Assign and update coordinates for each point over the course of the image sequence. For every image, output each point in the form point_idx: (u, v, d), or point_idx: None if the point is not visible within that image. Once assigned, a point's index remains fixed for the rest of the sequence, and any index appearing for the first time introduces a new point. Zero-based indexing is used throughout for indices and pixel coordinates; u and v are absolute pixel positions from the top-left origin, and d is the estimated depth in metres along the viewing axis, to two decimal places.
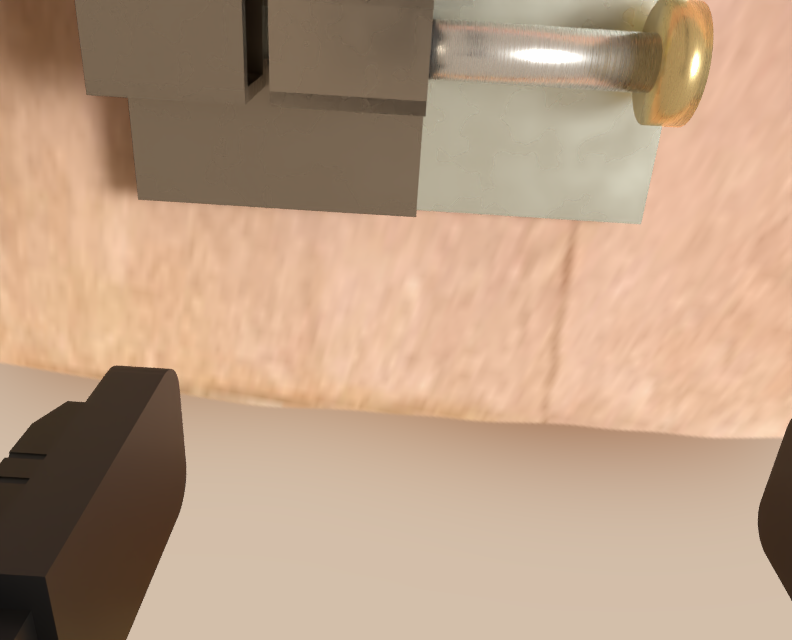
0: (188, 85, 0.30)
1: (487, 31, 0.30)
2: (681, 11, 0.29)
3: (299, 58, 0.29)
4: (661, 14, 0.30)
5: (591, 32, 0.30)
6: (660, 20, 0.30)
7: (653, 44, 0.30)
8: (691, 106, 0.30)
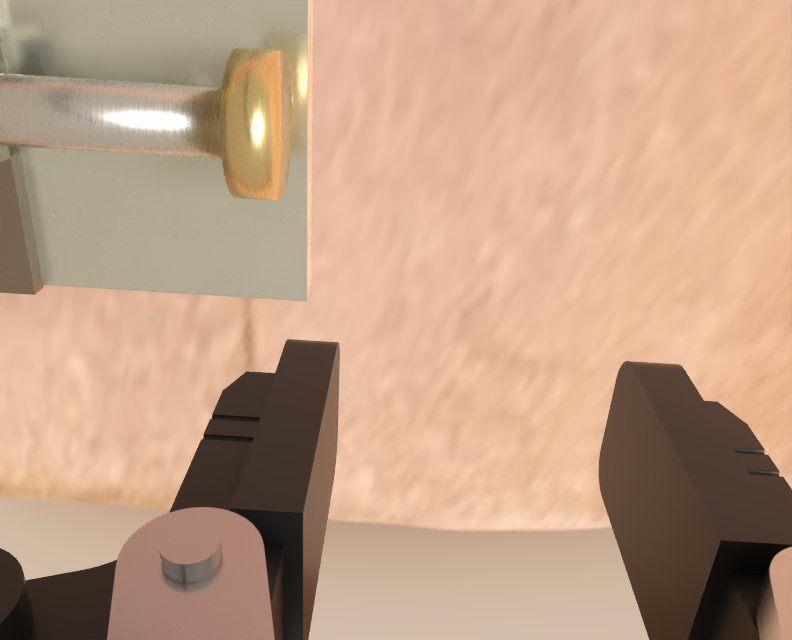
0: None
1: (17, 88, 0.24)
2: (237, 66, 0.23)
3: None
4: None
5: (147, 89, 0.25)
6: None
7: (220, 104, 0.24)
8: (263, 180, 0.24)
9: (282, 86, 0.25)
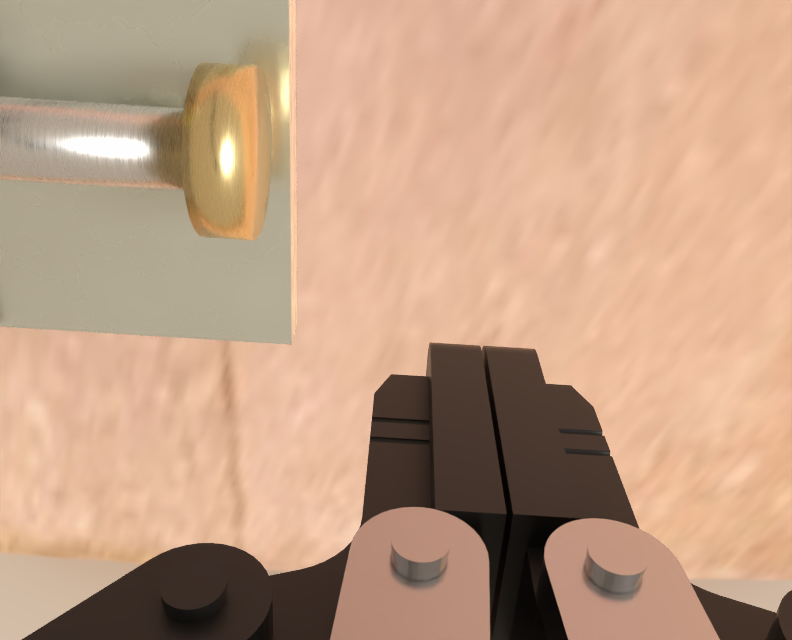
0: None
1: None
2: (202, 85, 0.20)
3: None
4: None
5: (99, 111, 0.21)
6: None
7: None
8: (234, 219, 0.21)
9: (258, 107, 0.22)
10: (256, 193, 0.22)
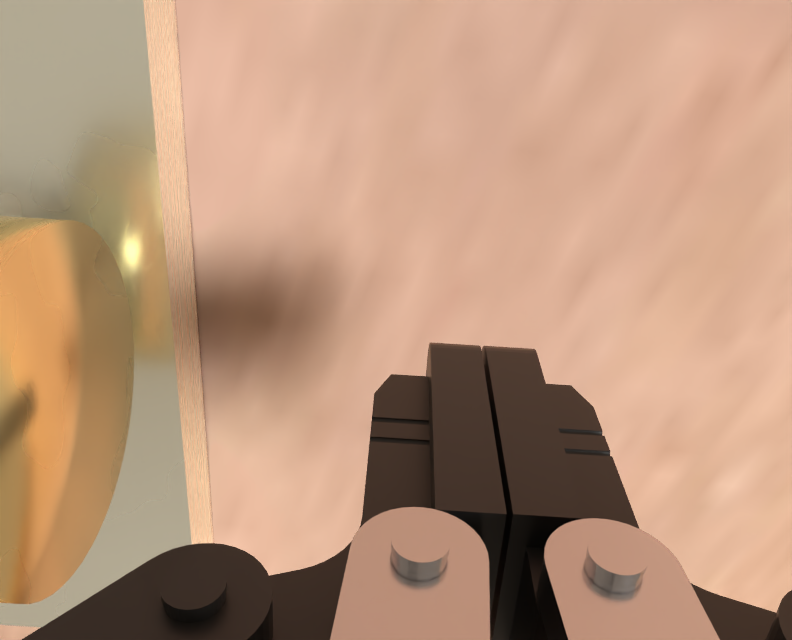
0: None
1: None
2: None
3: None
4: None
5: None
6: None
7: None
8: None
9: (64, 308, 0.10)
10: (70, 484, 0.10)
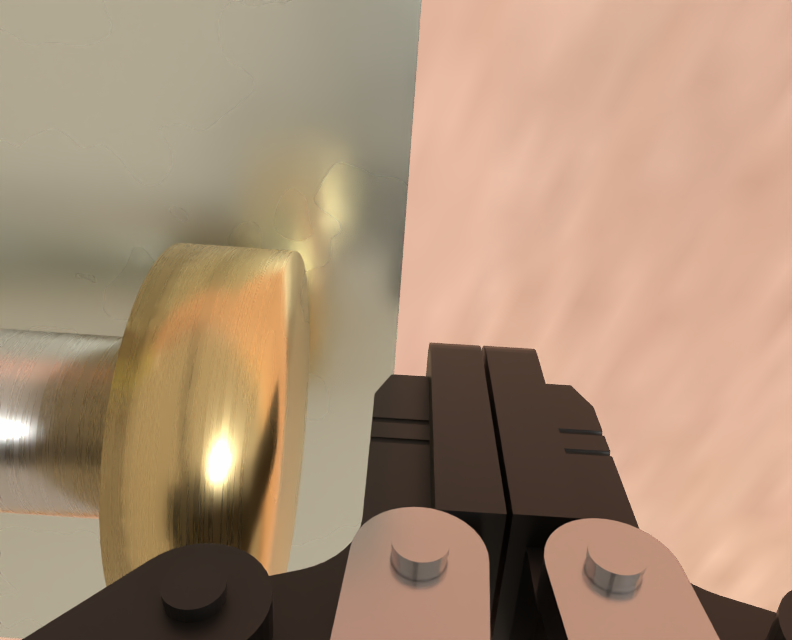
0: None
1: None
2: (157, 338, 0.08)
3: None
4: None
5: None
6: None
7: None
8: None
9: (289, 340, 0.10)
10: (282, 515, 0.10)
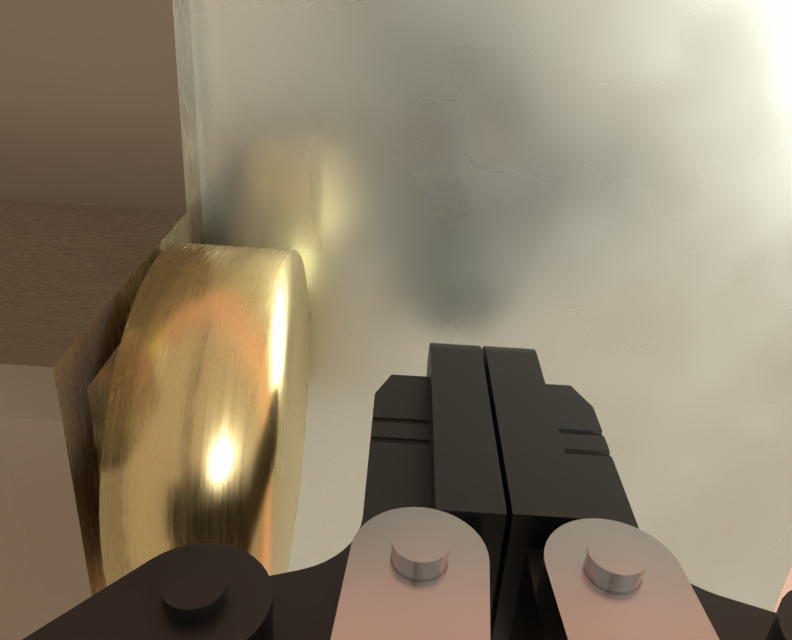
0: None
1: None
2: (157, 336, 0.08)
3: None
4: None
5: None
6: None
7: None
8: None
9: (288, 339, 0.10)
10: (282, 515, 0.10)
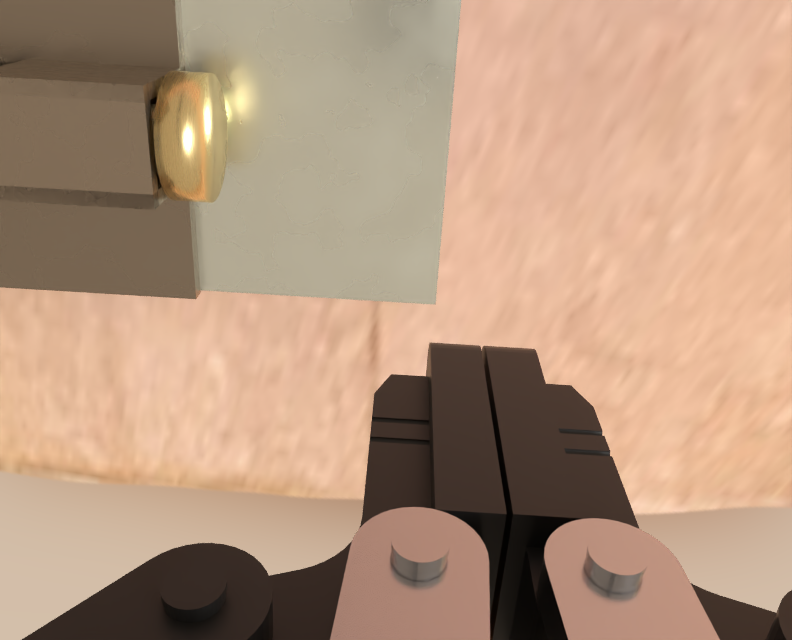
0: None
1: None
2: (169, 86, 0.27)
3: (12, 151, 0.28)
4: None
5: None
6: None
7: None
8: (193, 184, 0.28)
9: (212, 103, 0.29)
10: (212, 167, 0.30)
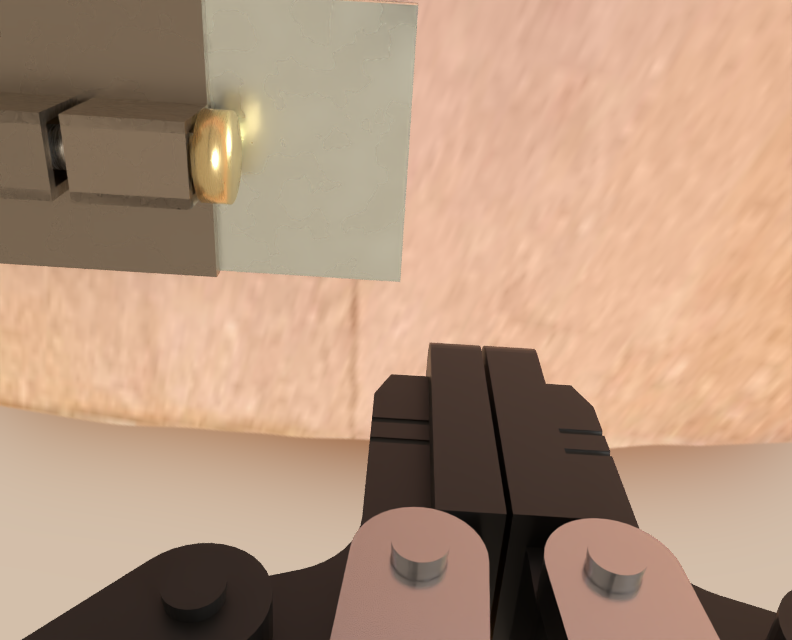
0: (8, 187, 0.39)
1: None
2: (202, 121, 0.38)
3: (89, 167, 0.38)
4: None
5: None
6: None
7: None
8: (219, 192, 0.39)
9: (232, 132, 0.40)
10: (231, 178, 0.41)
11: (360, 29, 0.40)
